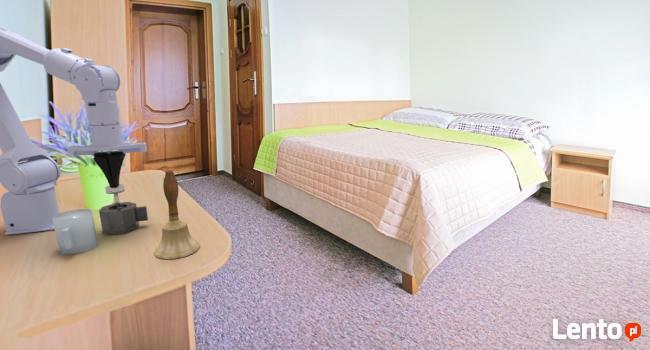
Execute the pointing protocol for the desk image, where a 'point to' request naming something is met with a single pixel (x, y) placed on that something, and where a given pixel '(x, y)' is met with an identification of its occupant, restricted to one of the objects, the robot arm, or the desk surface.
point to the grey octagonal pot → (121, 218)
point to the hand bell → (174, 226)
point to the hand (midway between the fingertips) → (114, 186)
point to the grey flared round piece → (115, 193)
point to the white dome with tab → (75, 231)
